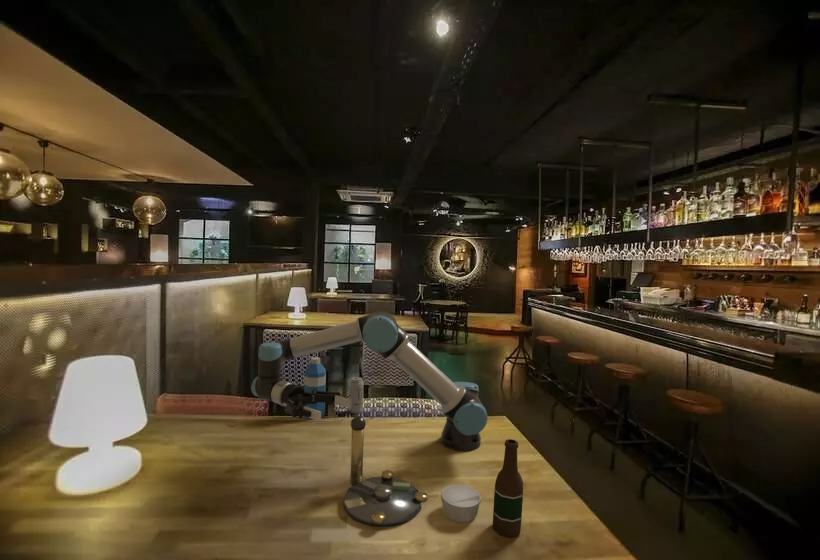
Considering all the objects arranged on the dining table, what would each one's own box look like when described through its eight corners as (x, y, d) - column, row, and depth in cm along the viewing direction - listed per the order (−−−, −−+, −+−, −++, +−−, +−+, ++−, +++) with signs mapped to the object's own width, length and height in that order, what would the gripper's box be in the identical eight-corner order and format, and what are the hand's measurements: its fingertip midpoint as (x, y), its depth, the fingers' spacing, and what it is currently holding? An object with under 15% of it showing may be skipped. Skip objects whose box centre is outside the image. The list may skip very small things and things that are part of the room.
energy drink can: (356, 415, 192) (357, 381, 191) (346, 411, 195) (347, 378, 194) (365, 411, 197) (366, 378, 196) (355, 408, 200) (356, 375, 199)
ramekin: (469, 530, 115) (470, 511, 115) (432, 515, 121) (433, 497, 121) (486, 510, 125) (487, 492, 125) (451, 497, 131) (451, 480, 130)
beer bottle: (488, 520, 120) (493, 435, 118) (516, 519, 121) (521, 435, 119) (496, 539, 112) (501, 448, 111) (526, 538, 113) (531, 448, 111)
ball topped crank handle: (395, 494, 127) (397, 424, 125) (384, 502, 123) (387, 430, 121) (355, 478, 135) (358, 412, 133) (345, 485, 131) (347, 417, 129)
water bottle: (329, 413, 193) (330, 357, 191) (317, 420, 184) (319, 362, 182) (310, 410, 196) (311, 354, 194) (298, 417, 187) (300, 359, 185)
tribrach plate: (427, 482, 138) (428, 472, 138) (426, 535, 113) (427, 523, 113) (352, 477, 140) (353, 468, 139) (334, 528, 114) (335, 516, 114)
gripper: (315, 396, 157) (361, 410, 146) (257, 416, 136) (305, 435, 125) (316, 375, 157) (362, 388, 145) (257, 393, 136) (306, 409, 124)
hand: (336, 410), depth 135 cm, fingers open, 13 cm apart
